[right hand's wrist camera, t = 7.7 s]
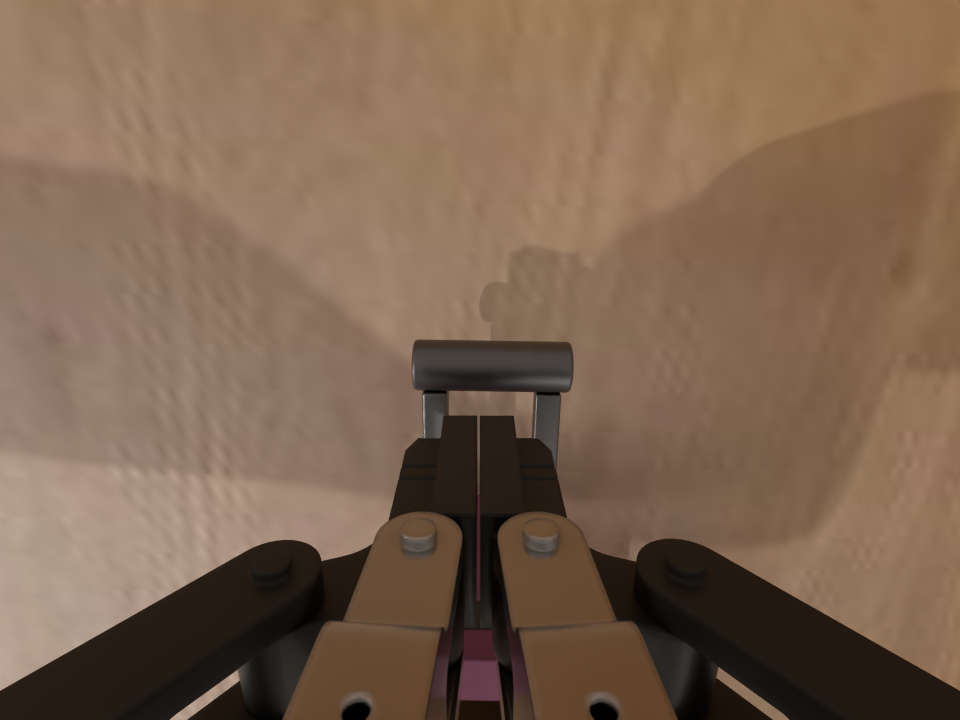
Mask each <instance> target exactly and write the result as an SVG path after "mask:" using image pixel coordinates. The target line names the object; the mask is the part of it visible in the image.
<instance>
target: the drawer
mask: <svg viewBox="0 0 960 720" xmlns="http://www.w3.org/2000/svg"><path fill="white" fill-rule="evenodd" d="M572 381H573V351H572V347H571V344H570V343H568V342H532V341H470V340H416V341H415V343H414V345H413V352H412V382H413V386H414V389H416V390H423V394H422V403H423V438H441V430H442V423H443V416H449V391H502V392H534V401H533V421H532V438H539V439H540V440H541V441H542V442H543V443H544V444H545V445H546V446H547V447H548V448H549V449H550V450H551V451H552V456H553V460H554V464H555V469H556V466H557V451H558V436H559V421H560V406H561V395H560V392H564V393H566V392H569V391H570V389H571V386H572ZM458 720H502V717H501V708H500V700H499V691H498V683H497V675H496V656H495V654H494V651H493V646H492V628H480V495H477V591H476V627H464V675H463V683H462V691H461V700H460V708H459V717H458Z"/></svg>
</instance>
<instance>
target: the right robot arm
mask: <svg viewBox="0 0 960 720" xmlns="http://www.w3.org/2000/svg"><path fill="white" fill-rule="evenodd" d="M476 591H477V416H443V423H442V430H441V438H418V439H417V440H416V441H415V442H414V443H413V444H412V445H411V446H410V447H409V448H408V449H407V450H406V451H405V455H404V459H403V463H402V468H401V472H400V476H399V480H398V484H397V488H396V492H395V496H394V501H393V505H392V509H391V513H390V517H389V521H388V522H386V523H385V524H384V525H383V526H382V527H381V528H380V529H379V531H378V532H377V534H376V536H375V539H374V541H373V544H371V545H370V546H368V547H367V548H365V549H363V550H361V551H358V552H356V553H353V554H350V555H346V556H343V557H338V558H334V559H329V560H325V561H321V557H320V555H319V553H318V551H317V550H316V549H315V548H314V547H312V546H311V545H309V544H307V543H304V542H301V541H295V540H280V541H273V542H268V543H265V544H261V545H259V546H256V547H254V548H252V549H250V550H248V551H246V552H244V553H242V554H240V555H239V556H237V557H235V558H233V559H232V560H230V561H228V562H226V563H225V564H223V565H221V566H219V567H218V568H216V569H214V570H212V571H210V572H209V573H207V574H205V575H203V576H202V577H200V578H198V579H196V580H195V581H193V582H191V583H189V584H188V585H186V586H184V587H182V588H181V589H179V590H177V591H175V592H174V593H172V594H170V595H168V596H166V597H165V598H163V599H161V600H159V601H158V602H156V603H154V604H152V605H151V606H149V607H147V608H145V609H144V610H142V611H140V612H138V613H137V614H135V615H133V616H131V617H129V618H128V619H126V620H124V621H122V622H121V623H119V624H117V625H115V626H114V627H112V628H110V629H108V630H107V631H105V632H103V633H101V634H100V635H98V636H96V637H94V638H92V639H91V640H89V641H87V642H85V643H84V644H82V645H80V646H78V647H77V648H75V649H73V650H71V651H70V652H68V653H66V654H64V655H63V656H61V657H59V658H57V659H56V660H54V661H52V662H50V663H48V664H47V665H45V666H43V667H41V668H40V669H38V670H36V671H34V672H33V673H31V674H29V675H27V676H26V677H24V678H22V679H20V680H19V681H17V682H15V683H13V684H11V685H10V686H8V687H6V688H4V689H3V690H1V691H0V720H170V719H171V718H172V717H173V716H174V715H176V714H177V713H178V712H180V711H181V710H182V709H184V708H185V707H186V706H188V705H189V704H191V703H192V702H193V701H195V700H196V699H198V698H199V697H200V696H202V695H203V694H204V693H206V692H207V691H209V690H210V689H211V688H213V687H214V686H215V685H217V684H218V683H220V682H221V681H222V680H224V679H225V678H227V677H228V676H229V675H231V674H232V673H233V672H235V671H236V670H238V673H239V678H240V681H239V682H238V683H236V684H235V685H234V686H232V687H231V688H229V689H228V690H227V691H225V692H224V693H223V694H221V695H220V696H219V697H217V698H216V699H215V700H213V701H212V702H211V703H209V704H208V705H207V706H205V707H204V708H203V709H201V710H200V711H198V712H197V713H196V714H194V715H193V716H192V717H190V718H189V719H188V720H458V717H459V708H460V700H461V691H462V683H463V675H464V627H476ZM480 628H492V646H493V651H494V654H495V656H496V675H497V683H498V691H499V700H500V708H501V717H502V720H772V719H771V718H770V717H768V716H767V715H766V714H764V713H763V712H762V711H760V710H759V709H757V708H756V707H755V706H753V705H752V704H751V703H749V702H748V701H747V700H745V699H744V698H743V697H741V696H740V695H739V694H737V693H736V692H735V691H733V690H732V689H731V688H729V687H728V686H726V685H725V684H724V683H722V682H721V681H720V680H718V679H717V678H716V676H717V671H718V667H720V668H721V669H722V670H724V671H725V672H727V673H728V674H729V675H731V676H732V677H733V678H735V679H736V680H738V681H739V682H740V683H742V684H743V685H744V686H746V687H747V688H749V689H750V690H751V691H753V692H754V693H756V694H757V695H758V696H760V697H761V698H762V699H764V700H765V701H767V702H768V703H769V704H771V705H772V706H773V707H775V708H776V709H778V710H779V711H780V712H782V713H783V714H784V715H785V716H786V717H787V718H788V719H789V720H960V691H959V690H957V689H956V688H954V687H952V686H950V685H948V684H947V683H945V682H943V681H941V680H940V679H938V678H936V677H934V676H933V675H931V674H929V673H927V672H926V671H924V670H922V669H920V668H919V667H917V666H915V665H913V664H912V663H910V662H908V661H906V660H904V659H903V658H901V657H899V656H897V655H896V654H894V653H892V652H890V651H889V650H887V649H885V648H883V647H882V646H880V645H878V644H876V643H875V642H873V641H871V640H869V639H867V638H866V637H864V636H862V635H860V634H859V633H857V632H855V631H853V630H852V629H850V628H848V627H846V626H845V625H843V624H841V623H839V622H838V621H836V620H834V619H832V618H831V617H829V616H827V615H825V614H823V613H822V612H820V611H818V610H816V609H815V608H813V607H811V606H809V605H808V604H806V603H804V602H802V601H801V600H799V599H797V598H795V597H794V596H792V595H790V594H788V593H786V592H785V591H783V590H781V589H779V588H778V587H776V586H774V585H772V584H771V583H769V582H767V581H765V580H764V579H762V578H760V577H758V576H757V575H755V574H753V573H751V572H749V571H748V570H746V569H744V568H742V567H741V566H739V565H737V564H735V563H734V562H732V561H730V560H728V559H727V558H725V557H723V556H721V555H720V554H718V553H716V552H714V551H713V550H711V549H709V548H707V547H705V546H702V545H700V544H697V543H694V542H690V541H686V540H680V539H662V540H657V541H653V542H651V543H649V544H647V545H645V546H644V547H643V548H642V549H641V550H640V551H639V553H638V556H637V561H636V562H635V561H630V560H626V559H621V558H617V557H612V556H609V555H605V554H602V553H600V552H597V551H595V550H593V549H591V548H589V547H588V544H587V541H586V539H585V536H584V534H583V532H582V531H581V529H580V528H579V527H578V526H577V525H576V524H575V523H574V522H572V521H570V520H569V519H567V516H566V512H565V507H564V503H563V499H562V494H561V490H560V486H559V482H558V480H557V473H556V469H555V464H554V460H553V456H552V451H551V450H550V449H549V448H548V447H547V446H546V445H545V444H544V443H543V442H542V441H541V440H540V439H539V438H516V431H515V423H514V416H480Z"/></svg>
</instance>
